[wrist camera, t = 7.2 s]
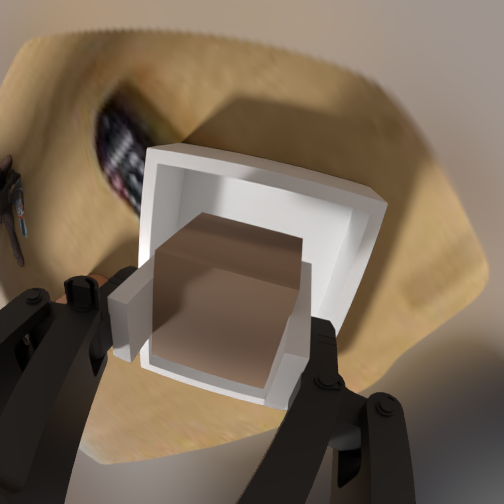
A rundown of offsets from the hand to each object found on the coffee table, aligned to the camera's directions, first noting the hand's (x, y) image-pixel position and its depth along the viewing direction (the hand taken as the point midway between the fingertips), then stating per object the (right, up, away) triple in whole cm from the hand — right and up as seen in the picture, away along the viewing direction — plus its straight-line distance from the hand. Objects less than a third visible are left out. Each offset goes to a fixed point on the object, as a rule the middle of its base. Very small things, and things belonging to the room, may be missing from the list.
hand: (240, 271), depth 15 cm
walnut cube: (0, 0, 0) cm, 0 cm away
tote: (0, -1, +8) cm, 9 cm away
